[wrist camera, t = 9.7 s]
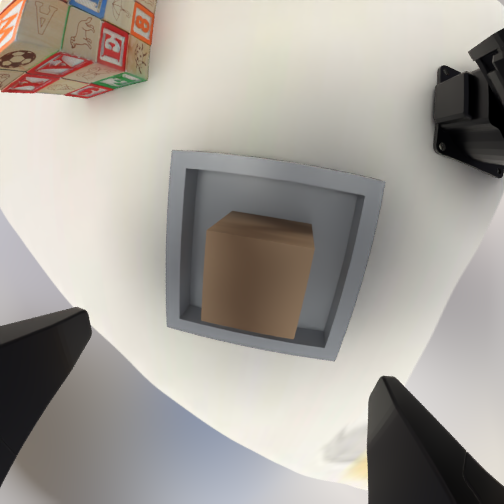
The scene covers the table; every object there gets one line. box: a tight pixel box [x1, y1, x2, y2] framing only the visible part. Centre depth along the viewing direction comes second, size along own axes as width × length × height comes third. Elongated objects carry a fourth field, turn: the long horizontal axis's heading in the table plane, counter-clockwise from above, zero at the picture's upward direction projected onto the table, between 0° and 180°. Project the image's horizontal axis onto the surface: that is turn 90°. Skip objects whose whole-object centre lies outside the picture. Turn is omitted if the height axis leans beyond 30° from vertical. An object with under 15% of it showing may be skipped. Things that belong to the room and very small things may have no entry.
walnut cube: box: [201, 211, 315, 339], centre depth 16 cm, size 5×5×5 cm
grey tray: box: [166, 150, 385, 361], centre depth 17 cm, size 12×12×2 cm
